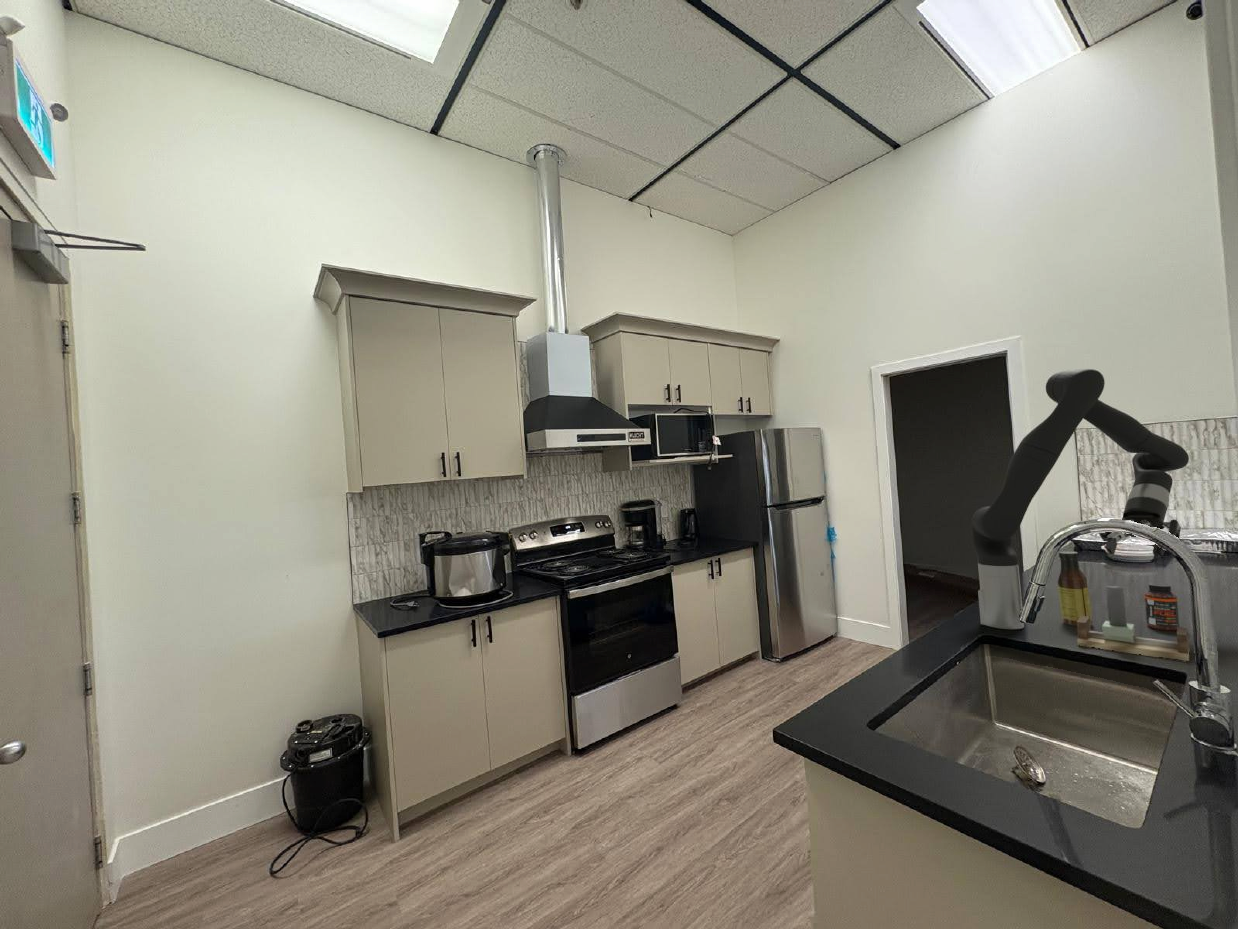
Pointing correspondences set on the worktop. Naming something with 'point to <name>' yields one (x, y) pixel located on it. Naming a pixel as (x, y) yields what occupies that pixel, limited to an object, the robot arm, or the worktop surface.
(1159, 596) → the supplement bottle
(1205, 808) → the worktop surface
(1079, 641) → the rail board
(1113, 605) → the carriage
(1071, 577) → the sauce bottle
